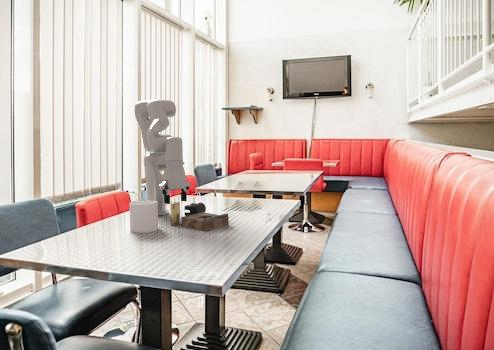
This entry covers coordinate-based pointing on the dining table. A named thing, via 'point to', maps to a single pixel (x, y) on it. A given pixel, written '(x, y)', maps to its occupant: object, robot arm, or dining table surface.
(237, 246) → the dining table surface
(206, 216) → the jig
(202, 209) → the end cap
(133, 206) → the cup
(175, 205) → the gold peg
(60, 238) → the dining table surface
